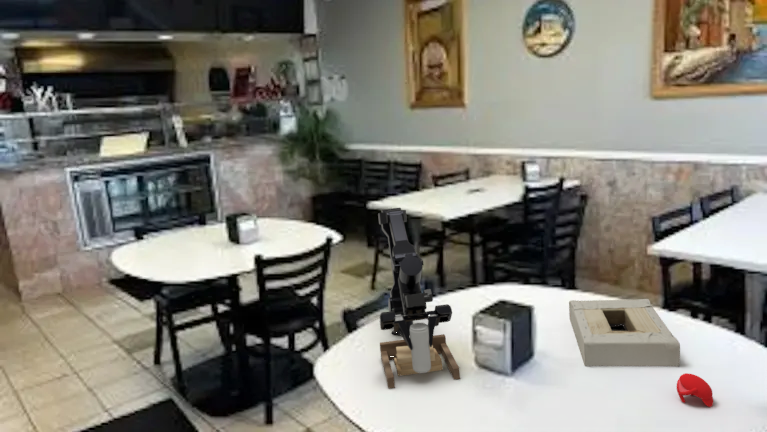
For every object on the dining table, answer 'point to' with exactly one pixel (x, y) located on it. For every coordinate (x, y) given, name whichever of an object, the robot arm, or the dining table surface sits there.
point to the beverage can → (420, 347)
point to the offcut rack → (390, 346)
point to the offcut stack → (405, 361)
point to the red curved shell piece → (694, 388)
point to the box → (622, 334)
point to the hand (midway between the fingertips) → (421, 348)
